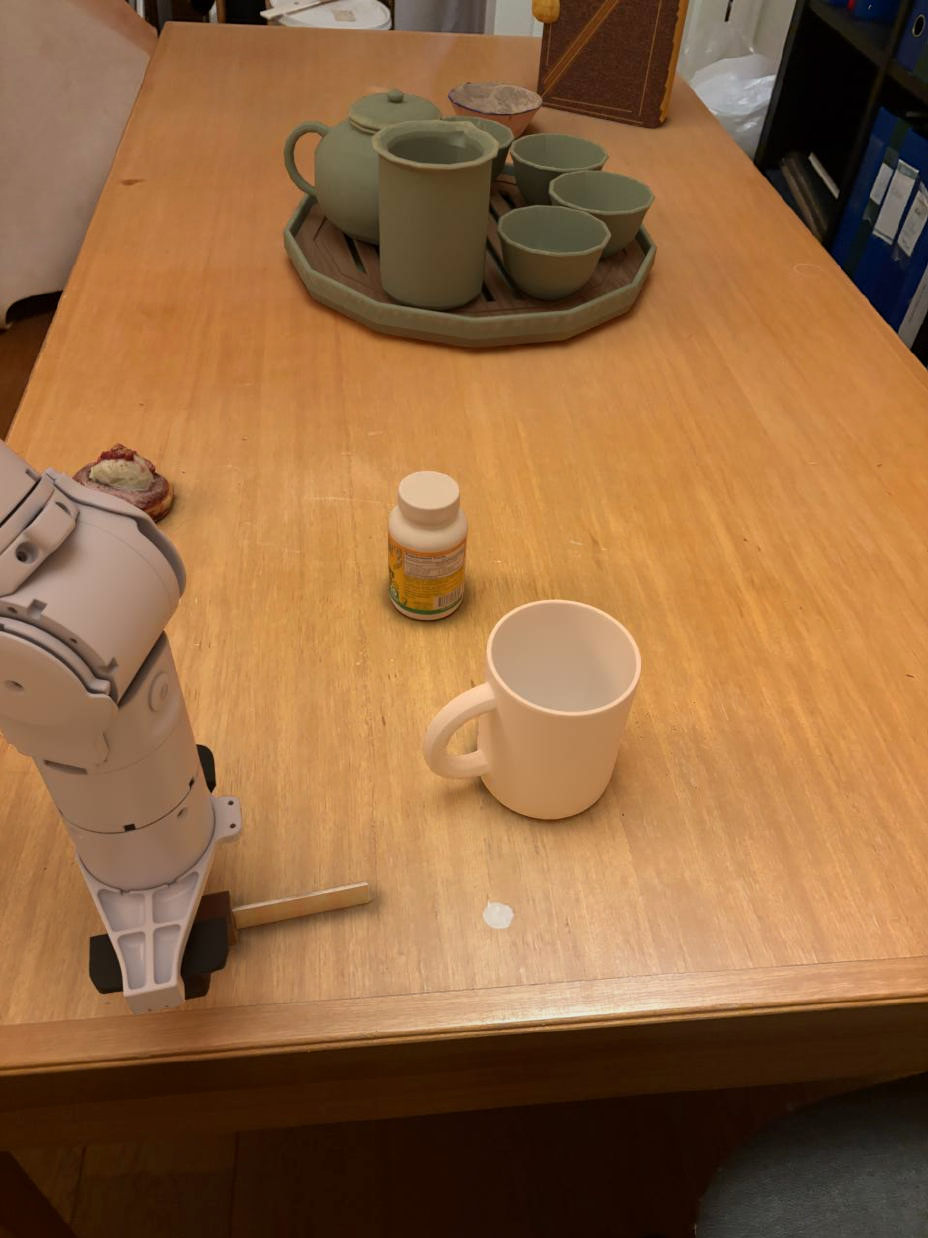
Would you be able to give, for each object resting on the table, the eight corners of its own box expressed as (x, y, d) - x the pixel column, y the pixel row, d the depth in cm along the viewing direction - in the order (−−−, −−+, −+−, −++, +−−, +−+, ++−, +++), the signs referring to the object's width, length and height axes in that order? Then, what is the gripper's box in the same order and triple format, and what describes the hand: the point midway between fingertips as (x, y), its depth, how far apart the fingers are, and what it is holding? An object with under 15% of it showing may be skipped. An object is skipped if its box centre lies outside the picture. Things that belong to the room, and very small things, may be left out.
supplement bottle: (457, 627, 64) (464, 521, 57) (381, 616, 65) (379, 510, 58) (468, 575, 68) (476, 469, 61) (396, 565, 68) (396, 458, 62)
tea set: (708, 334, 94) (752, 164, 83) (314, 369, 86) (300, 186, 74) (579, 179, 121) (598, 34, 109) (268, 195, 112) (252, 40, 101)
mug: (445, 862, 52) (452, 754, 44) (398, 747, 57) (398, 633, 50) (634, 801, 55) (670, 691, 48) (574, 698, 61) (598, 585, 53)
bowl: (430, 135, 129) (431, 97, 125) (472, 110, 137) (474, 73, 134) (515, 156, 125) (518, 117, 122) (552, 128, 133) (556, 91, 130)
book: (671, 115, 140) (712, -91, 122) (655, 132, 135) (694, -82, 117) (536, 87, 146) (556, -114, 128) (515, 102, 140) (532, -105, 122)
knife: (137, 964, 47) (127, 943, 45) (137, 931, 48) (127, 909, 47) (371, 916, 49) (370, 894, 48) (365, 885, 51) (364, 863, 49)
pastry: (186, 481, 74) (175, 428, 70) (155, 543, 69) (142, 490, 65) (87, 471, 74) (71, 418, 71) (49, 532, 69) (30, 479, 65)
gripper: (242, 917, 33) (277, 1052, 43) (216, 628, 43) (250, 792, 53) (33, 959, 32) (119, 1088, 42) (55, 650, 42) (120, 814, 51)
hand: (182, 925), depth 47 cm, fingers open, 6 cm apart
